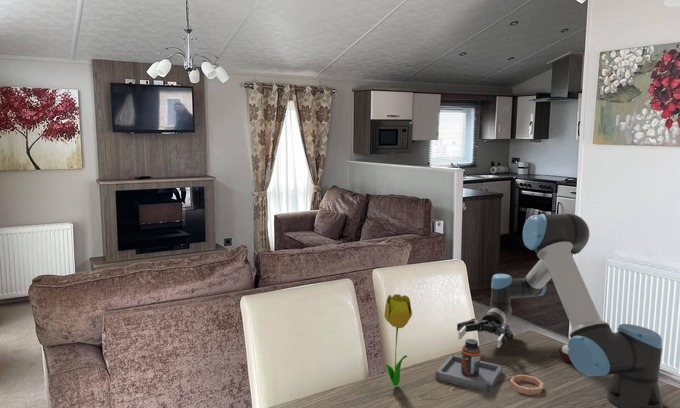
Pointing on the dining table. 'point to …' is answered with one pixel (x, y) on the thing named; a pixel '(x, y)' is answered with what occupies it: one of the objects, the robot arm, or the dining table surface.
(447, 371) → the tray
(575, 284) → the robot arm
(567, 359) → the cocoa
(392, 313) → the flower
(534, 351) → the dining table surface
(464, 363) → the supplement bottle
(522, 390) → the holder ring
